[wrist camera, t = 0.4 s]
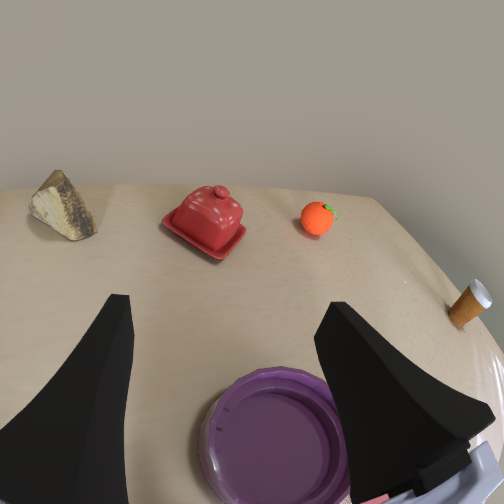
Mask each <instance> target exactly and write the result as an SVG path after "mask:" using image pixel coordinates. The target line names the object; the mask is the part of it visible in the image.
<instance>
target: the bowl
mask: <svg viewBox="0 0 504 504" xmlns="http://www.w3.org/2000/svg"><path fill="white" fill-rule="evenodd" d="M198 456H199V459H200V463H201V466H202V470H203V473H204V477H205V479H206V480H207V482H208V483H209V485H210V486H211V487H212V489H213V490H214V491H215V493H216V494H217V495H218V497H219V498H220V499H221V500H222V501H223V502H224V503H226V504H340V503H341V502H342V501H343V500H344V498H345V497H346V496H347V495H348V494H349V493H350V477H349V466H348V458H347V451H346V446H345V440H344V435H343V430H342V426H341V422H340V418H339V414H338V411H337V408H336V405H335V402H334V399H333V397H332V394H331V391H330V389H329V386H328V384H327V383H326V382H325V381H324V380H323V379H321V378H319V377H316V376H314V375H312V374H310V373H308V372H306V371H303V370H300V369H294V368H288V367H282V366H279V367H272V368H264V369H258V370H256V371H253V372H251V373H249V374H247V375H245V376H243V377H241V378H239V379H237V380H236V381H235V382H234V383H233V384H232V385H231V386H230V387H229V388H228V389H227V390H226V391H225V392H224V393H223V394H222V395H221V396H220V397H219V398H218V399H217V400H216V401H215V402H214V403H213V404H212V405H211V406H210V407H209V410H208V412H207V414H206V416H205V418H204V420H203V423H202V425H201V427H200V432H199V445H198Z"/></svg>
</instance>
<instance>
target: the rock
mask: <svg viewBox="0 0 504 504" xmlns="http://www.w3.org/2000/svg"><path fill="white" fill-rule="evenodd" d="M29 208H30V209H29V211H30V214H32V215H33V216H34V217H36V218H38V219H40V220H41V221H42V222H44V223H45V224H48V225H49V226H51V227H52V228H53V229H54V230H56V231H58V232H59V233H60V234H62V235H65V236H66V237H67V238H68V239H70V240H74V241H75V240H79V239H83V238H86V237H89V236H91V235H93V234H94V233H96V232H97V229H96V224H95V221H94V219H93V217H92V215H91V213H90V212H89V211H88V210H87V208H86V207H85V204H84V202H83V200H82V198H81V196H80V194H79V193H78V192H77V191H76V189H75V187H74V186H73V185H72V184H71V183H70V181H69V179H68V178H67V177H66V176H65V175H64V173H63V172H62V171H61V170H55V171H54V172H53V173H52V174H51V175H50V176H49V178H48V179H47V180H46V181H45V182H44V184H43V185H42V186H41V187H40V188H39V190H38V191H37V192H36V193H35V195H33V196H32V198H31V202H30V205H29Z"/></svg>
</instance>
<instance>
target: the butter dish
mask: <svg viewBox="0 0 504 504" xmlns="http://www.w3.org/2000/svg"><path fill="white" fill-rule="evenodd" d="M229 195H230V193H229V191H228V189H227V188H225V187H223V186H219V185H218V186H215V187H210V186H204V187H201V188H199V189H197V190H195V191H193V192H192V193H191V194H189V195H188V196H187V197H186V198H185V199H184V201H183V202H182V204H181V205H180V206H178V207H177V208H175V209H174V210H173V211H171V212H170V213H169V214H167V215H166V216H165V217H164V218H163V219H162V223H163V224H164V225H165V226H166V227H168V228H169V229H170V230H172V231H173V232H175V233H177V234H178V235H180V236H181V237H183V238H184V239H185V240H187V241H188V242H190V243H191V244H193V245H194V246H196V247H197V248H199V249H200V250H202V251H203V252H205V253H206V254H208V255H209V256H211V257H213V258H215V259H217V260H222V259H224V258H225V257H226V256H227V255H228V254H229V253H230V252H231V251H232V249H233V248H234V247H235V246H236V245H237V243H238V242H239V241H240V240H241V239H242V237H243V236H244V234H245V233H246V228H245V227H244V226H243V225H241V224H240V221H241V218H242V214H243V209H242V207H241V206H240V204H239V203H238V202H237V201H235V200H234V199H233V198H232V197H230V196H229Z"/></svg>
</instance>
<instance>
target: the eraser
mask: <svg viewBox="0 0 504 504" xmlns="http://www.w3.org/2000/svg"><path fill="white" fill-rule="evenodd" d="M388 499H389V497H388V494H385V495H383V496H380V497H378V498H375V499H372V500H369V501H367V502H364V503H361V504H379V503H382V502H384V501H386V500H388Z"/></svg>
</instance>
